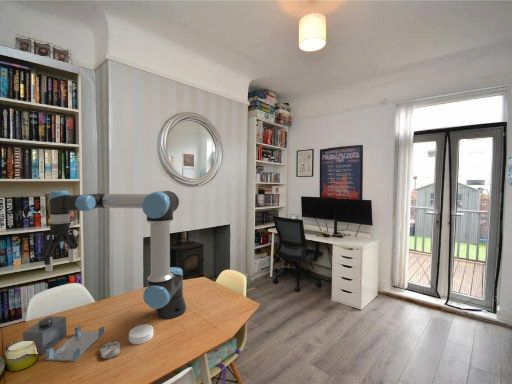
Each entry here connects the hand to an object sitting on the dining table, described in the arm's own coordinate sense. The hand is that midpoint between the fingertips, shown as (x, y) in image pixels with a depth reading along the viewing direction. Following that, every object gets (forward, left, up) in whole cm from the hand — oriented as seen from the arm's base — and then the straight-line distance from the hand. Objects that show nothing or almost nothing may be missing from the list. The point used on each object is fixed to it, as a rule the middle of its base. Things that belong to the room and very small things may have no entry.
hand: (61, 266), depth 123 cm
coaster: (-44, +10, -28) cm, 53 cm away
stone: (-36, +20, -28) cm, 50 cm away
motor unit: (-14, +17, -28) cm, 36 cm away
